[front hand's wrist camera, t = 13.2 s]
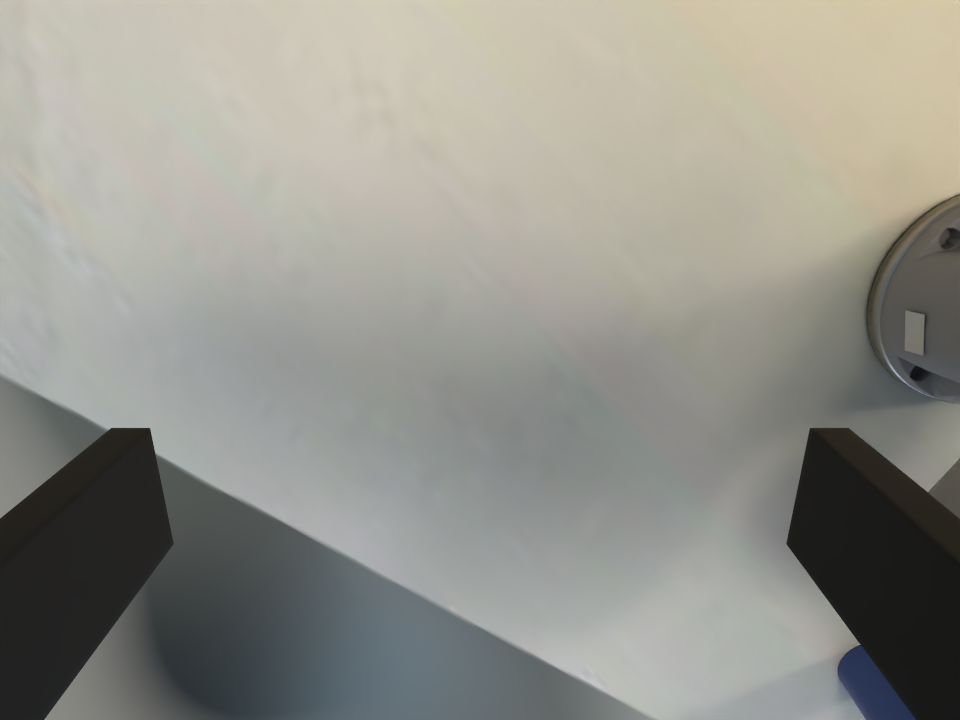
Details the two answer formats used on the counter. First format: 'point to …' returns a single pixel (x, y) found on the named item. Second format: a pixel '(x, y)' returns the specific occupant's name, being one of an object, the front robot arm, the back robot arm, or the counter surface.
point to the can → (870, 688)
